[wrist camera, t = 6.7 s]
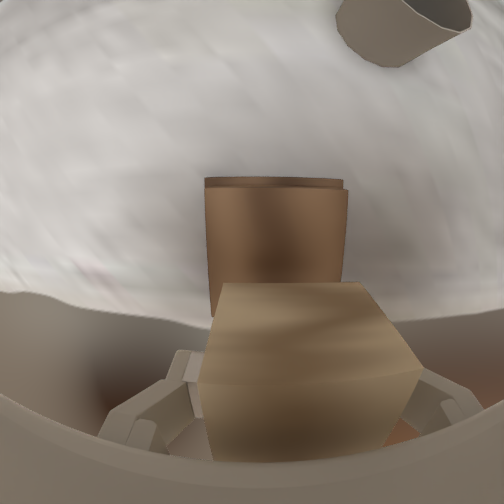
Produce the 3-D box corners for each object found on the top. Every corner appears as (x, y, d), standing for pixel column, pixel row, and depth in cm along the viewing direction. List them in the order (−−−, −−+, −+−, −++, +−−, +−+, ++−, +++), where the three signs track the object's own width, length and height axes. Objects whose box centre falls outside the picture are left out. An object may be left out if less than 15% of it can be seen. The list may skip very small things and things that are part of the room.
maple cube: (359, 282, 10) (423, 367, 5) (339, 380, 11) (366, 468, 6) (223, 283, 10) (196, 382, 5) (229, 383, 11) (218, 479, 6)
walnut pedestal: (340, 179, 22) (356, 182, 18) (330, 299, 25) (341, 321, 21) (206, 177, 22) (195, 180, 18) (212, 300, 25) (204, 322, 22)
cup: (350, 67, 19) (401, 20, 9) (323, -2, 16) (351, -62, 7) (424, 69, 18) (487, 42, 8) (397, 4, 15) (443, -38, 6)
